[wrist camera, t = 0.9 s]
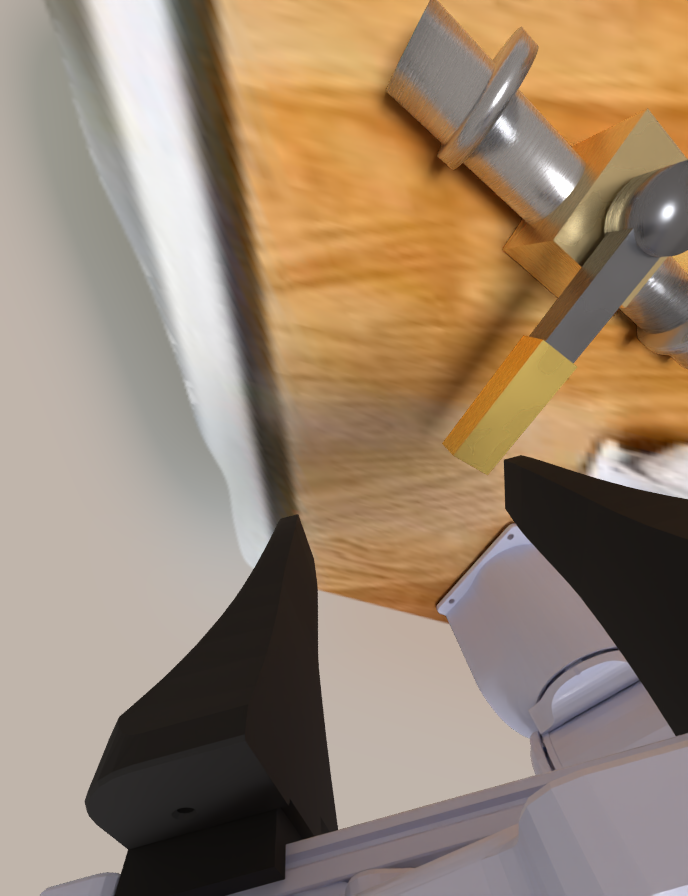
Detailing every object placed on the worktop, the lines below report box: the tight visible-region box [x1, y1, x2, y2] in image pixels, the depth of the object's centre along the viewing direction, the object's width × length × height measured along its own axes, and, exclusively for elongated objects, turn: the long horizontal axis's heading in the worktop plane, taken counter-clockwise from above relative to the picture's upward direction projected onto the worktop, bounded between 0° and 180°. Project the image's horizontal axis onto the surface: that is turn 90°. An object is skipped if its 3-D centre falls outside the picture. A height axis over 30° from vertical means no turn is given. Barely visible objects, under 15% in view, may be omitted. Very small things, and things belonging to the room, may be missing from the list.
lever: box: [442, 160, 688, 475], centre depth 15 cm, size 14×3×2 cm, turn 148°
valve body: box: [386, 0, 688, 369], centre depth 16 cm, size 5×22×4 cm, turn 58°
